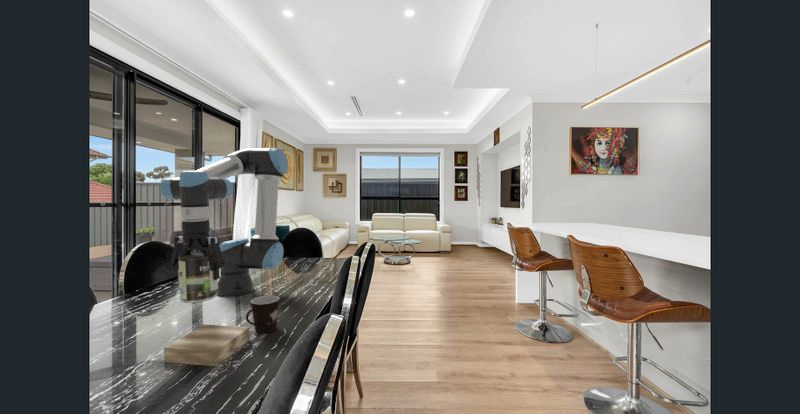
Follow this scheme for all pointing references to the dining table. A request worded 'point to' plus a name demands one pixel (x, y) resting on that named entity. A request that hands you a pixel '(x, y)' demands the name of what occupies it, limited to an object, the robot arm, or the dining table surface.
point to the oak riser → (207, 345)
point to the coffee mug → (264, 313)
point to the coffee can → (195, 278)
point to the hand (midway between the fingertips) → (198, 288)
